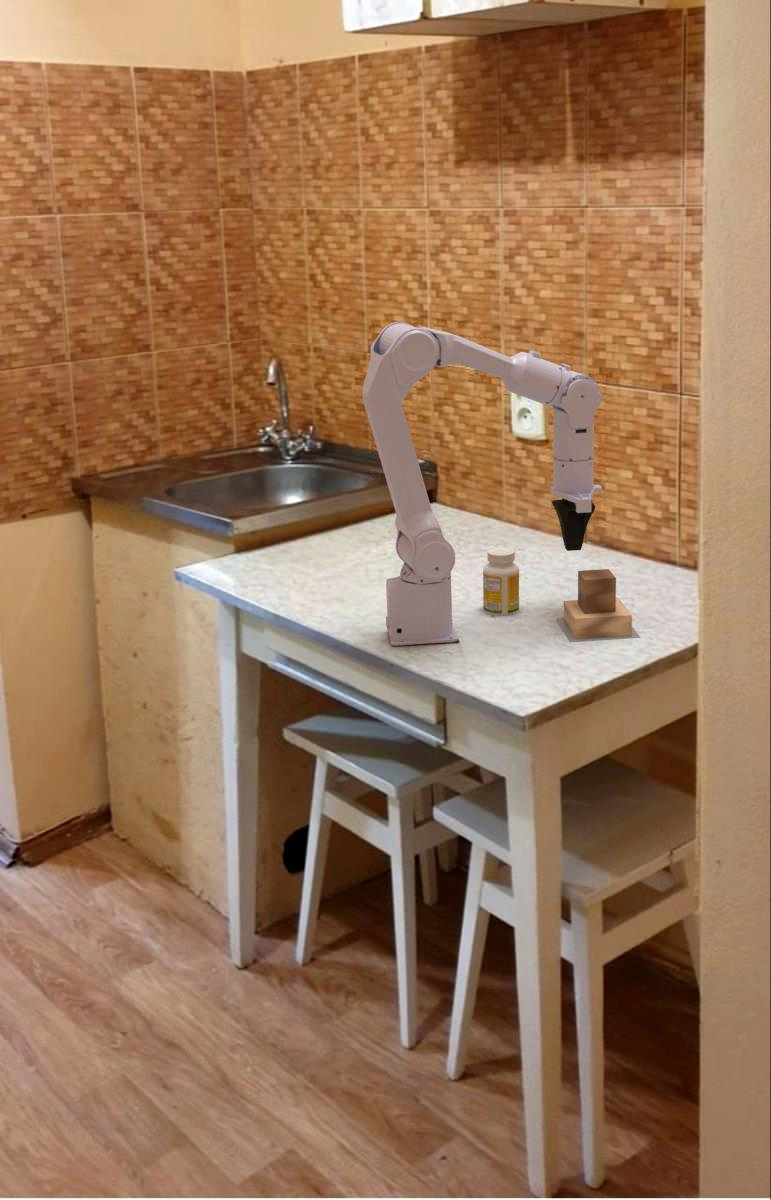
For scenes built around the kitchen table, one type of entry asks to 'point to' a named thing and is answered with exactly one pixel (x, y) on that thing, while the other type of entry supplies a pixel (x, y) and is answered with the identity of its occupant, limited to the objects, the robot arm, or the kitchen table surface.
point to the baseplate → (572, 639)
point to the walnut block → (596, 591)
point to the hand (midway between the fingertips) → (573, 549)
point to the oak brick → (597, 621)
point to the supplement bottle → (501, 582)
